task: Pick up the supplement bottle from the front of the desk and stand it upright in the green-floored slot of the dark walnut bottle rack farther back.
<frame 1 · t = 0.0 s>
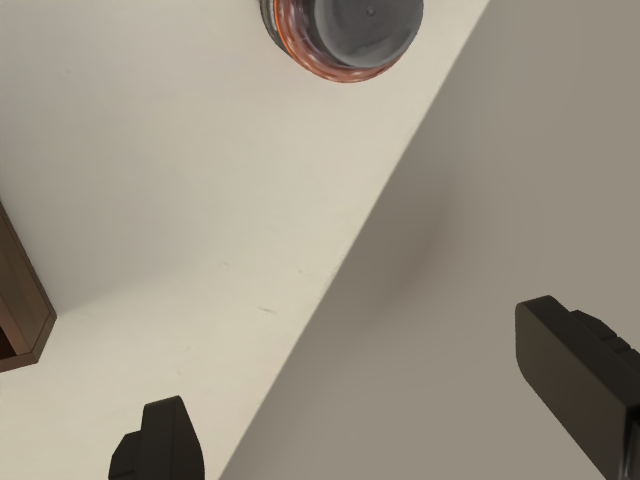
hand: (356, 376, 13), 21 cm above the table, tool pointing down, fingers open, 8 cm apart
supplement bottle: (312, 1, 29), on the table
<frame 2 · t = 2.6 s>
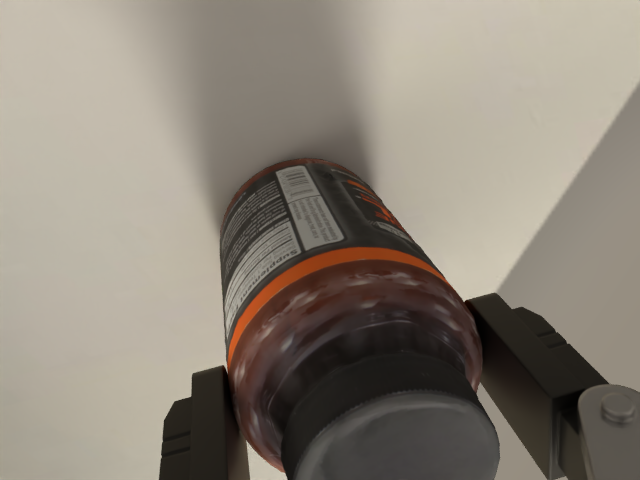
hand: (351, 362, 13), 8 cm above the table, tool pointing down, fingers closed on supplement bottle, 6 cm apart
supplement bottle: (299, 228, 20), on the table, touching gripper
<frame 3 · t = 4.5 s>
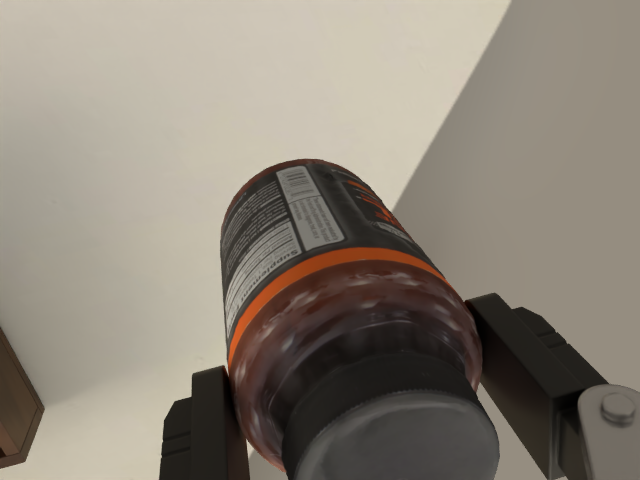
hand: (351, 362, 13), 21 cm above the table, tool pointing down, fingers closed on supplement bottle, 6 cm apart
supplement bottle: (300, 229, 20), point 13 cm above the table, touching gripper
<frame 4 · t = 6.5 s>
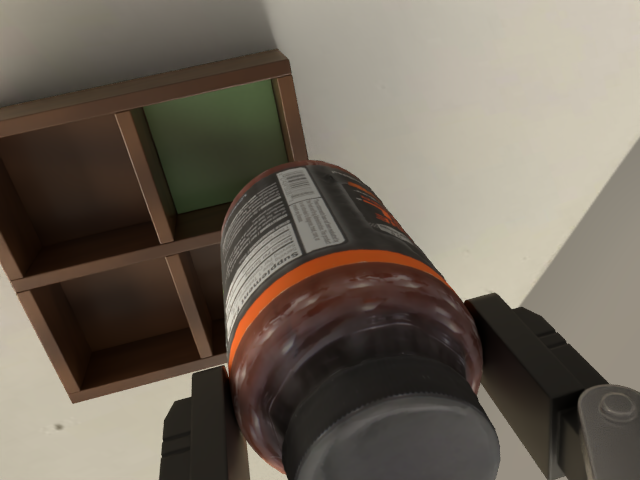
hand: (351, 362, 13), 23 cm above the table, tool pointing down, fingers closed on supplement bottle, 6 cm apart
supplement bottle: (300, 230, 20), point 15 cm above the table, touching gripper
rack: (173, 217, 35), on the table
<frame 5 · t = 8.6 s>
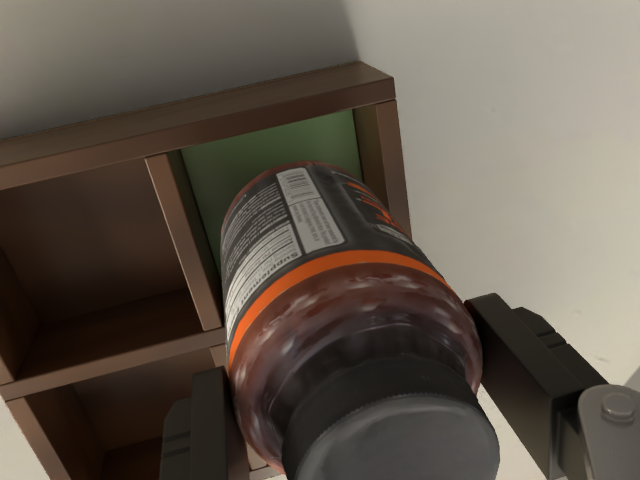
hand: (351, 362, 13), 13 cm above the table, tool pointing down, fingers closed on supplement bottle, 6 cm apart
supplement bottle: (300, 230, 20), point 5 cm above the table, touching gripper
rack: (213, 282, 26), on the table
when the fingers open (8 cm above the table, at t = 10.3 s): supplement bottle stays where it is, resting on rack.
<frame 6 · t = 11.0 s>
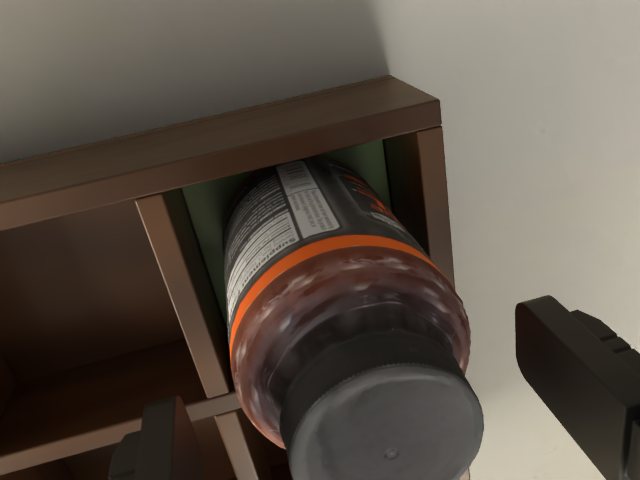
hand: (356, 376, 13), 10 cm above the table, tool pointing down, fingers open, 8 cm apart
supplement bottle: (299, 222, 21), point 1 cm above the table, touching rack
rack: (218, 329, 23), on the table
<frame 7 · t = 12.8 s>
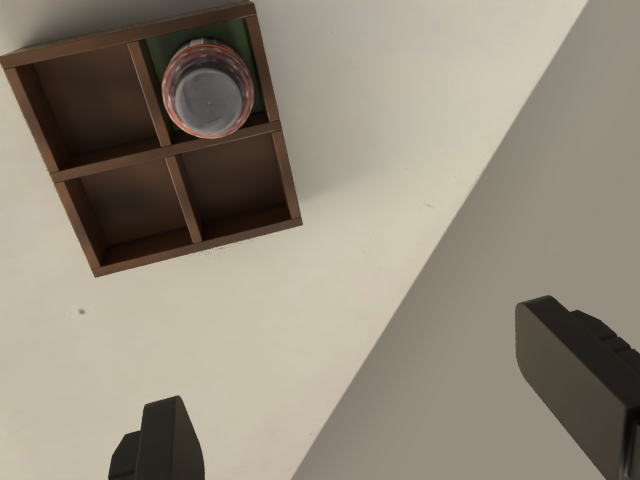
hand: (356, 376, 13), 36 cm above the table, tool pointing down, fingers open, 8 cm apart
supplement bottle: (208, 74, 43), point 1 cm above the table, touching rack
rack: (171, 135, 45), on the table
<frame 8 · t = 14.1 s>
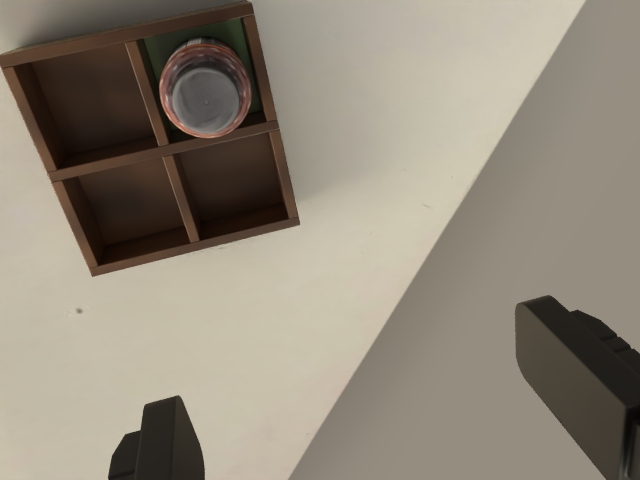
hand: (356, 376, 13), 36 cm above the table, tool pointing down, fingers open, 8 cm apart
supplement bottle: (206, 74, 43), point 1 cm above the table, touching rack
rack: (169, 135, 45), on the table
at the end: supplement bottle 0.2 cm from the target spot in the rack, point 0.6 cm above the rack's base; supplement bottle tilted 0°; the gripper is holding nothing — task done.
